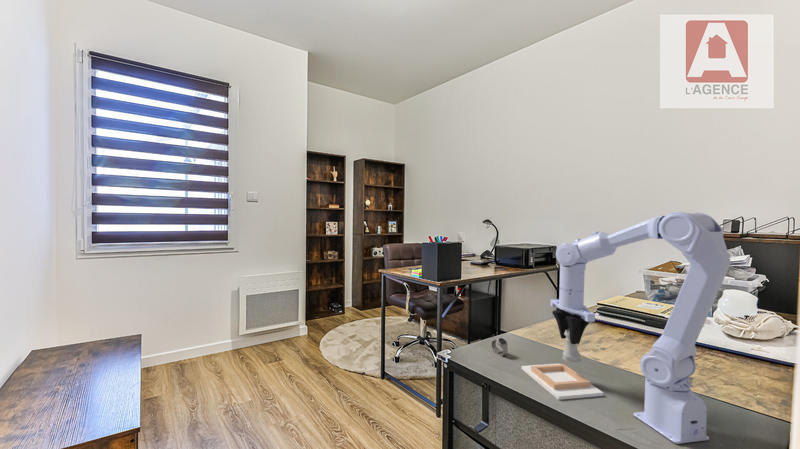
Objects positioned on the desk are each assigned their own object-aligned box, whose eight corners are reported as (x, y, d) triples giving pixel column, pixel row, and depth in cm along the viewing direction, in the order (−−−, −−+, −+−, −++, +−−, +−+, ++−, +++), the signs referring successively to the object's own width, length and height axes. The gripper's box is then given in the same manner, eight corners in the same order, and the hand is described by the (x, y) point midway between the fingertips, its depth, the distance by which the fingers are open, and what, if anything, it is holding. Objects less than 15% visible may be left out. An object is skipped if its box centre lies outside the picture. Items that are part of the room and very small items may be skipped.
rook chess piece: (584, 364, 85) (582, 333, 84) (565, 364, 86) (564, 333, 85) (578, 356, 89) (576, 327, 89) (560, 356, 90) (559, 327, 90)
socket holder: (603, 395, 80) (603, 387, 80) (558, 399, 78) (558, 391, 77) (559, 366, 95) (559, 359, 95) (521, 368, 93) (521, 361, 93)
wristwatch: (501, 358, 100) (501, 341, 100) (488, 350, 106) (489, 334, 106) (510, 356, 102) (511, 340, 102) (497, 348, 107) (498, 333, 107)
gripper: (606, 295, 80) (604, 350, 81) (566, 283, 95) (565, 330, 95) (580, 296, 79) (579, 352, 79) (544, 283, 93) (542, 331, 94)
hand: (569, 340), depth 87 cm, fingers closed on rook chess piece, 3 cm apart
